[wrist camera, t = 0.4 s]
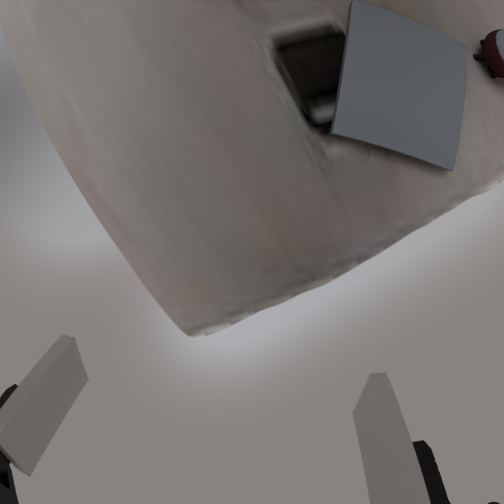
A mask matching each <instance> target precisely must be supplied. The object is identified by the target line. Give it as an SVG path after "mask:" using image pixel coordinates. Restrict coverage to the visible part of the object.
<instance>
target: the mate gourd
mask: <svg viewBox="0 0 504 504" xmlns="http://www.w3.org/2000/svg"><path fill="white" fill-rule="evenodd" d="M480 43H481V46H482V53H480V54H479V55H477V54H474V55H473V57H474V59H475V60H480V61H486V63H487V65H488V68H489V72H490V76H491V78H496V77H500V78H504V29H502V30H500V29H499V30H495V31H492V32H490V33H489V34H488V35H487V36H486V38H485V40H481V41H480Z"/></svg>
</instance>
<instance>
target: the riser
mask: <svg viewBox="0 0 504 504" xmlns="http://www.w3.org/2000/svg"><path fill="white" fill-rule="evenodd" d="M466 54H467V45H465V44H463V43H461V42H459V41H457V40H456V39H454V38H452V37H450V36H448V35H446V34H444V33H442V32H440V31H438V30H436V29H434V28H432V27H429V26H427V25H425V24H423V23H420V22H418V21H416V20H413V19H411V18H409V17H406V16H404V15H401V14H398V13H396V12H393V11H390V10H387V9H385V8H382V7H379V6H376V5H373V4H370V3H366V2H363V1H360V0H352V1H351V3H350V6H349V15H348V23H347V31H346V38H345V46H344V53H343V60H342V66H341V73H340V79H339V85H338V91H337V97H336V103H335V109H334V115H333V120H332V126H331V131H330V134H334V135H338V136H342V137H346V138H350V139H354V140H357V141H361V142H365V143H368V144H372V145H375V146H378V147H382V148H385V149H388V150H391V151H395V152H398V153H401V154H404V155H407V156H410V157H413V158H416V159H418V160H421V161H424V162H427V163H430V164H432V165H435V166H438V167H440V168H443V169H445V170H449V171H453V170H454V165H455V160H456V154H457V149H458V143H459V136H460V130H461V122H462V114H463V105H464V95H465V81H466Z"/></svg>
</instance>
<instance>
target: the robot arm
mask: <svg viewBox="0 0 504 504" xmlns="http://www.w3.org/2000/svg"><path fill="white" fill-rule="evenodd" d="M87 381H88V377H87V374H86V371H85V368H84V366H83V363H82V360H81V357H80V354H79V351H78V348H77V344H76V341H75V338H74V337H70V336H67V335H63V334H62V335H61V336H60V337H59V339H58V340H57V341H56V342H55V343H54V344H53V345H52V346H51V348H50V349H49V350H48V351H47V352H46V353H45V354H44V356H43V357H42V358H41V359H40V360H39V362H38V363H37V364H36V365H35V366H34V367H33V369H32V370H31V371H30V372H29V374H28V375H27V376H26V377H25V378H24V379H23V381H22V382H21V383H20V384H19V386H18V385H16V384H14V385H13V386H11V387H10V388H8V389H6V391H5V392H4V393H3V394H2V396H1V397H0V504H19V503H18V499H17V495H16V490H15V486H14V481H13V476H12V471H11V468H10V466H9V464H10V463H12V464H13V465H14V466H15V467H16V468H17V469H18V470H20V471H21V472H23V473H25V474H26V475H28V476H31V474H32V473H33V471H34V469H35V467H36V465H37V463H38V462H39V460H40V457H41V456H42V455H43V453H44V451H45V449H46V447H47V446H48V444H49V442H50V441H51V439H52V437H53V436H54V434H55V432H56V431H57V429H58V427H59V425H60V424H61V422H62V421H63V419H64V417H65V416H66V414H67V412H68V411H69V409H70V408H71V406H72V404H73V403H74V401H75V399H76V398H77V396H78V395H79V393H80V392H81V390H82V389H83V387H84V386H85V384H86V382H87ZM353 418H354V422H355V427H356V431H357V436H358V441H359V446H360V450H361V455H362V461H363V466H364V471H365V476H366V482H367V487H368V493H369V498H370V504H451V503H450V502H449V500H448V497H447V494H446V491H445V488H444V485H443V481H442V478H441V475H440V472H439V470H438V466H437V464H436V462H435V458H434V455H433V452H432V450H431V448H430V447H429V446H428V445H427V444H426V442H425V441H424V440H422V441H416V442H412V441H411V438H410V435H409V432H408V429H407V426H406V423H405V421H404V418H403V415H402V412H401V410H400V407H399V404H398V402H397V399H396V396H395V394H394V391H393V388H392V386H391V383H390V381H389V378H388V376H387V373H370V375H369V378H368V380H367V382H366V385H365V387H364V389H363V391H362V394H361V396H360V398H359V400H358V403H357V405H356V407H355V409H354V411H353ZM488 504H499V503H497V502H490V503H488Z"/></svg>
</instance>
